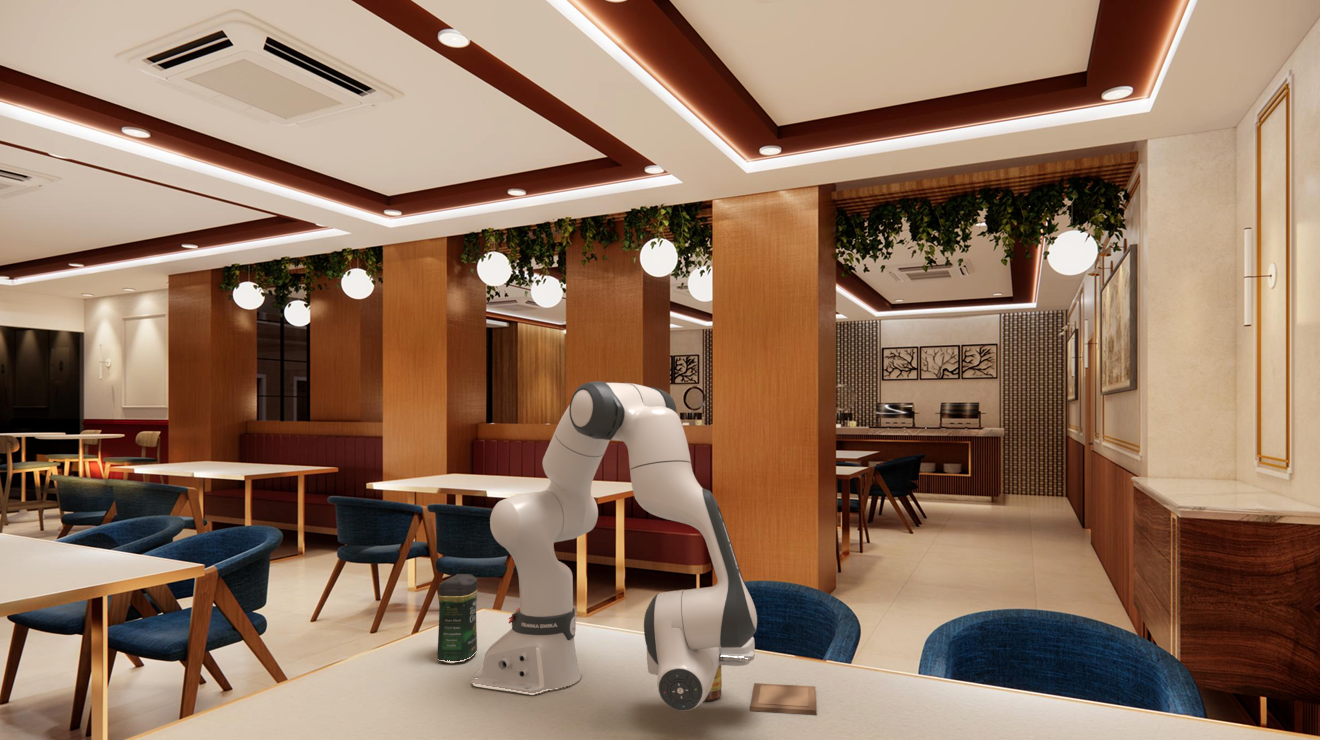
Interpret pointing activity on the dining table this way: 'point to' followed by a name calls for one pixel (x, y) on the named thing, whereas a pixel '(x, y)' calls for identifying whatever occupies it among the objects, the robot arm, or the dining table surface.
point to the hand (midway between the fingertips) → (704, 634)
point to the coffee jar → (457, 618)
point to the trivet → (783, 699)
